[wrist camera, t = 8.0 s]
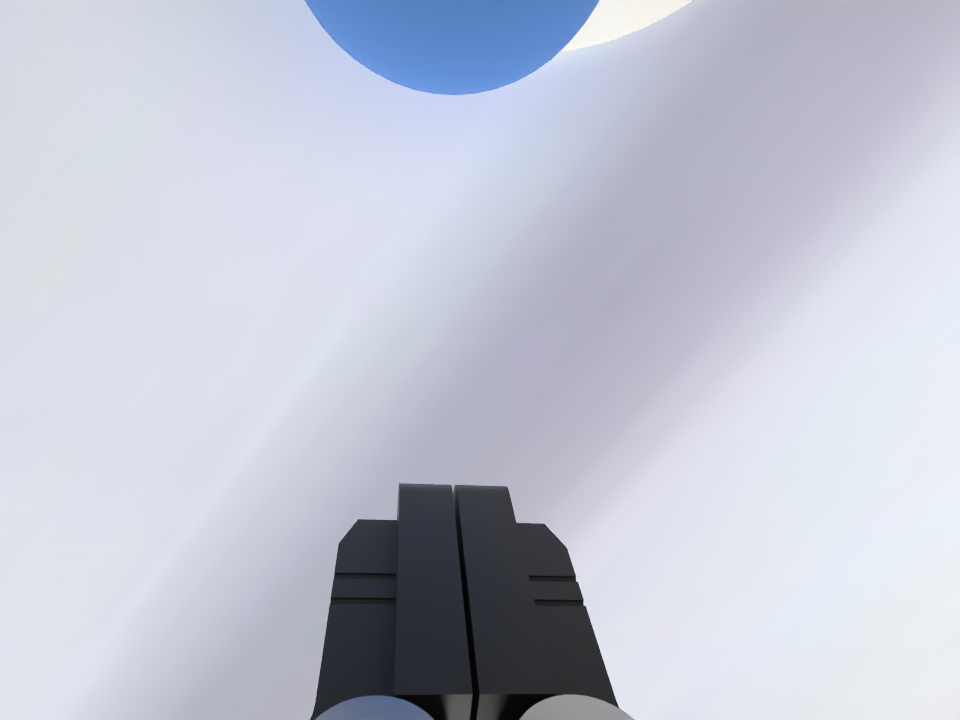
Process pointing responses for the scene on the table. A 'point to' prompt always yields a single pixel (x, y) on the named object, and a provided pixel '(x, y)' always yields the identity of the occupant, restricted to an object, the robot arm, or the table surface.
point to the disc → (621, 20)
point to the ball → (452, 38)
